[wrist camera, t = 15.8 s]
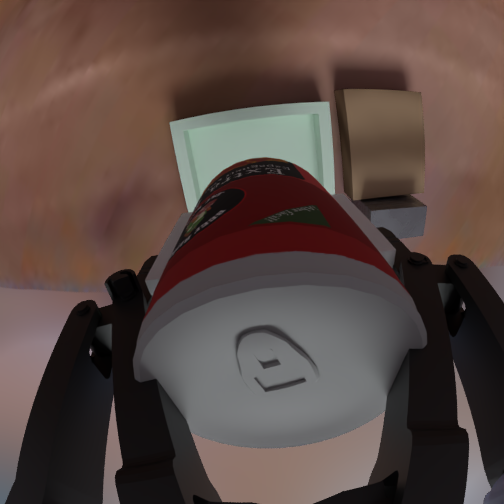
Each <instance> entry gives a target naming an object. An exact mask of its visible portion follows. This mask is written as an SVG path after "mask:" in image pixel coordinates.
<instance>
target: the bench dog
mask: <svg viewBox="0 0 504 504" xmlns="http://www.w3.org/2000/svg"><path fill="white" fill-rule="evenodd" d="M351 202H352V203H353V204H354V205H355V206H356V207H357V208H358V209H359V210H360V211H361V212H362V213H363V214H364V215H365V216H366V217H367V218H368V219H369V220H370V222H371V223H372V224H373V225H374V226H375V227H376V228H377V227H384V228H386V229H388V230H390V231H391V232H392V233H393V234H394V235H395V236H396V237H397V238H398V239H401V238H409V237H416V236H423V233H424V226H425V219H426V211H427V206H426V205H425V204H423V203H422V202H420V201H419V200H417V199H416V198H414V197H413V196H411V195H410V194H406V195H396V196H387V197H378V198H370V199H361V200H352V199H351Z"/></svg>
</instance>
